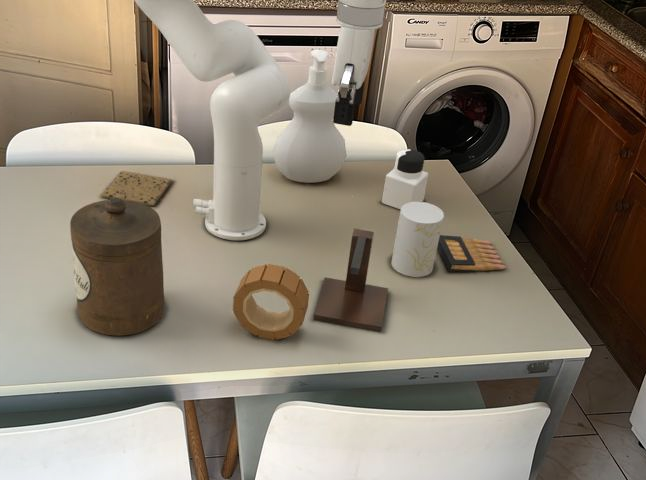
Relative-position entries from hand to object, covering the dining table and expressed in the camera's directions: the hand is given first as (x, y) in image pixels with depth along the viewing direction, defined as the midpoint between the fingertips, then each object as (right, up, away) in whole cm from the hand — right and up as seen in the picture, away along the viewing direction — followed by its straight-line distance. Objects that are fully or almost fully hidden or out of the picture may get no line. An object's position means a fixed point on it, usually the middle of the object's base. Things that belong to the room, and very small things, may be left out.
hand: (347, 113), depth 140 cm
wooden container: (-39, -34, +2) cm, 52 cm away
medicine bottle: (+16, -12, +41) cm, 45 cm away
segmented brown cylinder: (-13, -33, -3) cm, 35 cm away
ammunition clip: (+21, -23, +22) cm, 38 cm away
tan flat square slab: (-43, -9, +38) cm, 58 cm away
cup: (+14, -26, +20) cm, 36 cm away
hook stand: (+1, -34, +7) cm, 34 cm away
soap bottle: (-5, -5, +48) cm, 49 cm away
